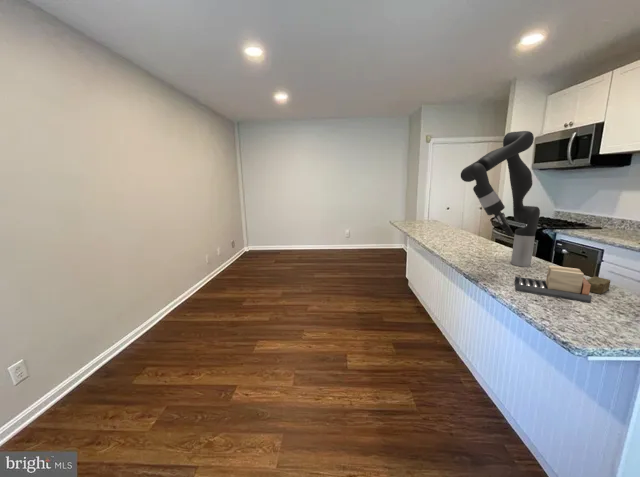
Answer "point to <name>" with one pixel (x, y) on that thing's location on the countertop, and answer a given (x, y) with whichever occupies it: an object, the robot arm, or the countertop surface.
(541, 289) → the roller track
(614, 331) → the countertop surface
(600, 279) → the stone block
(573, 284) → the birch slab
